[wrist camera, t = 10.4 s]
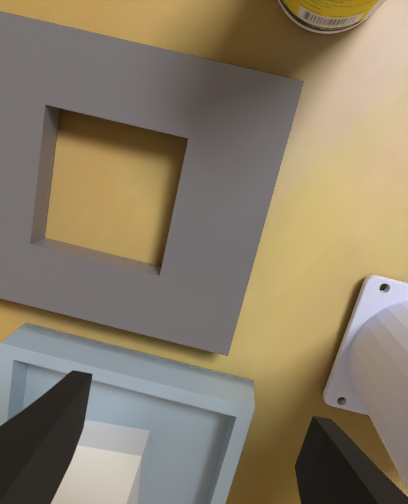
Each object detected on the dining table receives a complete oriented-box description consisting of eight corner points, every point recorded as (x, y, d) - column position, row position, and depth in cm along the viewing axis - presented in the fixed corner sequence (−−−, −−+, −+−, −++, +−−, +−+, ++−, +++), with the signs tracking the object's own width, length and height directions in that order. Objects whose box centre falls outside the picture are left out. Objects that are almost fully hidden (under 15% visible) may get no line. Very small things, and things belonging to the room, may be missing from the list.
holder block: (298, 87, 18) (303, 81, 16) (228, 342, 21) (227, 356, 20) (-19, 14, 18) (-41, 1, 17) (-36, 276, 22) (-55, 284, 20)
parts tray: (253, 380, 22) (255, 408, 19) (200, 554, 25) (196, 595, 23) (26, 323, 22) (0, 342, 20) (6, 501, 26) (-18, 537, 23)
